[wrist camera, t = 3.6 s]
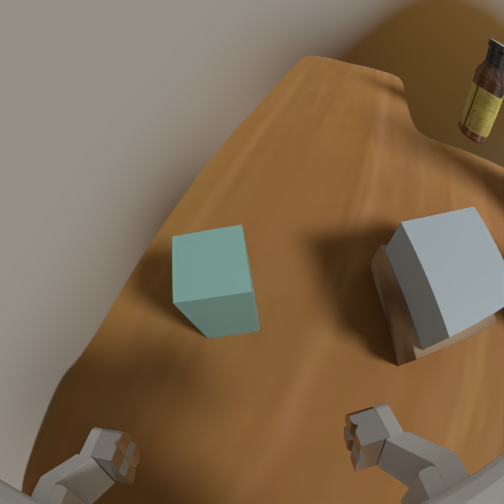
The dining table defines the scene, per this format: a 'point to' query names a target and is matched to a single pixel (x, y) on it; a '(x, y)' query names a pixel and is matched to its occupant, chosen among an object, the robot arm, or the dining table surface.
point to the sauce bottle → (484, 95)
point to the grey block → (447, 272)
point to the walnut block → (408, 314)
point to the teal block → (214, 281)
